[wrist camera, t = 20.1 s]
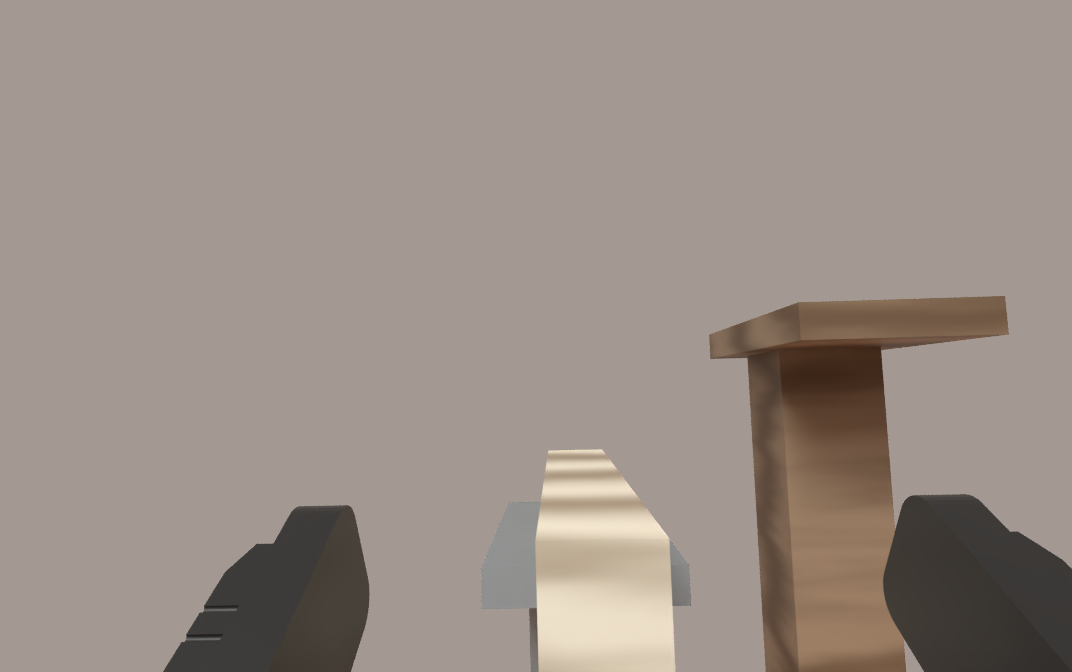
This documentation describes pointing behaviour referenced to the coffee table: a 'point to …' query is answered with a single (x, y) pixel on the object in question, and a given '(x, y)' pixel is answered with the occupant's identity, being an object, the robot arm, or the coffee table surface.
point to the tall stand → (832, 468)
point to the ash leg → (600, 572)
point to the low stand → (515, 569)
